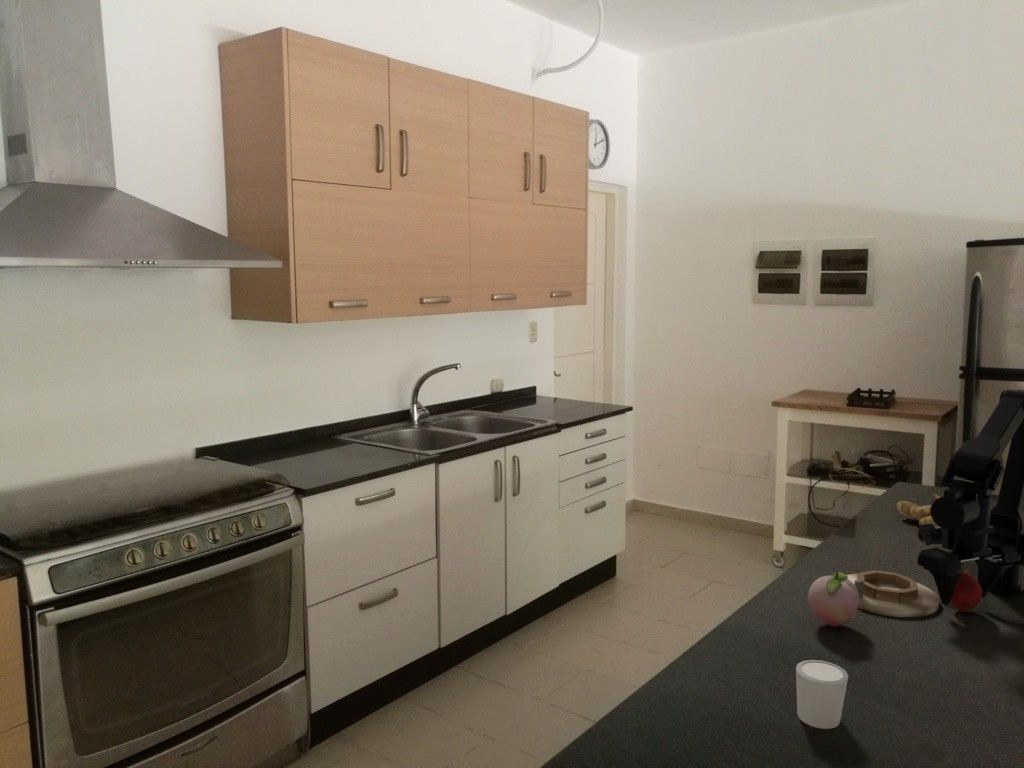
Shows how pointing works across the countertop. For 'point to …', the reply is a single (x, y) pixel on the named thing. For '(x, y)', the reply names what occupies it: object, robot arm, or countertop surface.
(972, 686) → the countertop surface
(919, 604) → the flange plate
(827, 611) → the decorative fruit
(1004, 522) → the robot arm
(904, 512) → the ginger root
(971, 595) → the onion
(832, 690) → the white cup
